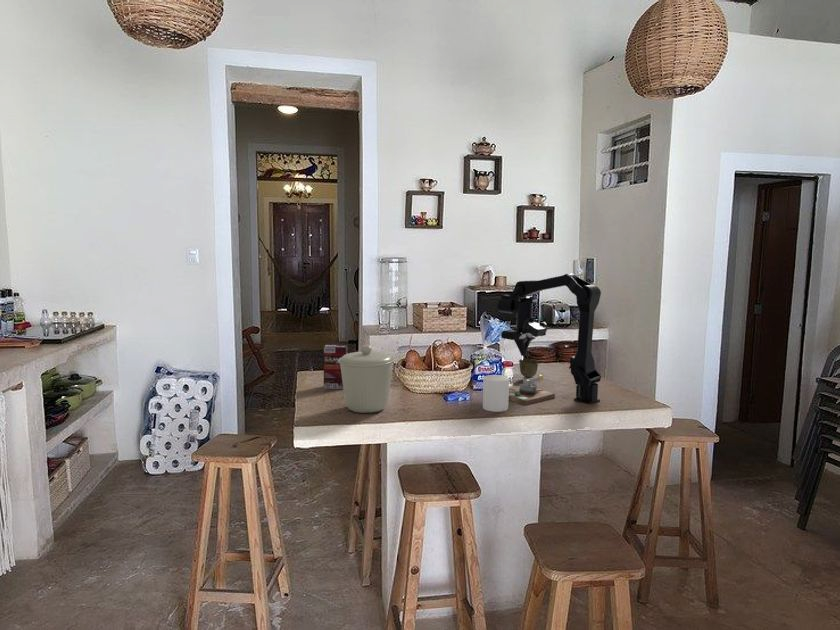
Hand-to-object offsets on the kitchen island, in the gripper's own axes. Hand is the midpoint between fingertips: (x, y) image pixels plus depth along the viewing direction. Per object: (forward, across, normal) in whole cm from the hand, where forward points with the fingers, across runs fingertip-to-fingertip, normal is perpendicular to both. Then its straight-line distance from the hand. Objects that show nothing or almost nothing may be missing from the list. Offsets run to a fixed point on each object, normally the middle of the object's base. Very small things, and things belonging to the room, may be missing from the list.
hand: (523, 355), depth 207 cm
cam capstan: (+10, -7, -11) cm, 16 cm away
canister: (+12, -62, +11) cm, 64 cm away
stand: (+12, -9, -10) cm, 18 cm away
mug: (+12, -27, -12) cm, 32 cm away
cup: (+12, +10, +6) cm, 17 cm away
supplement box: (+12, -57, +41) cm, 71 cm away
